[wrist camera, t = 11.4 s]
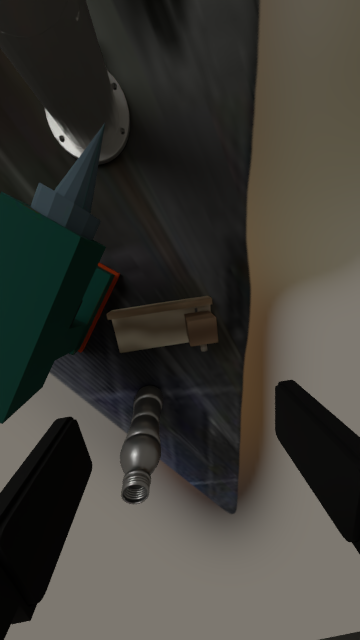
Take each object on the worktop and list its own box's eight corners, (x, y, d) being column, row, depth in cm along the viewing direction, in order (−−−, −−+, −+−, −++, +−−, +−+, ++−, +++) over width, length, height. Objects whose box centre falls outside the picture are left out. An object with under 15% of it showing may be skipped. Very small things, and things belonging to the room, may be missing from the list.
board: (111, 310, 37) (106, 313, 34) (207, 295, 38) (211, 297, 34) (121, 350, 39) (117, 357, 36) (211, 335, 40) (215, 341, 37)
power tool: (116, 184, 32) (37, 46, 12) (152, 207, 33) (131, 116, 14) (50, 335, 38) (-72, 402, 18) (83, 350, 39) (0, 427, 20)
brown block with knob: (184, 313, 37) (187, 321, 31) (208, 310, 37) (216, 317, 31) (188, 343, 38) (191, 355, 32) (211, 339, 38) (219, 351, 33)
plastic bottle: (168, 388, 43) (170, 485, 23) (154, 409, 44) (144, 517, 25) (144, 376, 41) (125, 467, 22) (130, 398, 43) (100, 503, 23)
